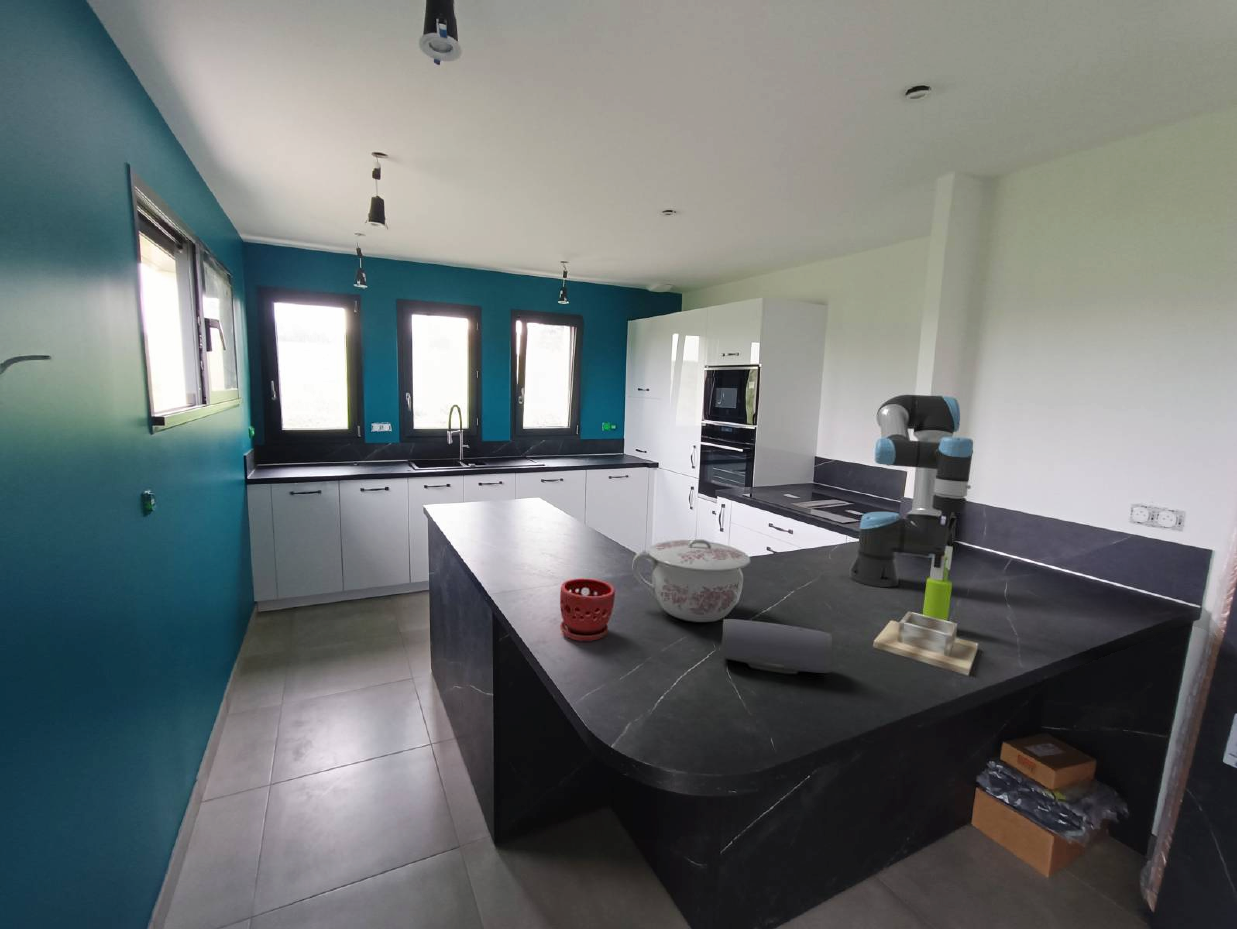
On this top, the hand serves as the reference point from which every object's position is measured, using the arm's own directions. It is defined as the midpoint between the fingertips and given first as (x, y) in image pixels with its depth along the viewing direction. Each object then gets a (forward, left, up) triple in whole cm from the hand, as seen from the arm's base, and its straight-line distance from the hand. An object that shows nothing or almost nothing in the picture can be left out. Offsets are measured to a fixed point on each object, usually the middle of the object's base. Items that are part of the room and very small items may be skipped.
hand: (940, 574), depth 149 cm
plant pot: (-64, -70, -15) cm, 96 cm away
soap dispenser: (0, 0, -15) cm, 15 cm away
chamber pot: (-52, -39, -15) cm, 67 cm away
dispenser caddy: (+1, -17, -15) cm, 22 cm away
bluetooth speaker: (-23, -54, -15) cm, 60 cm away
